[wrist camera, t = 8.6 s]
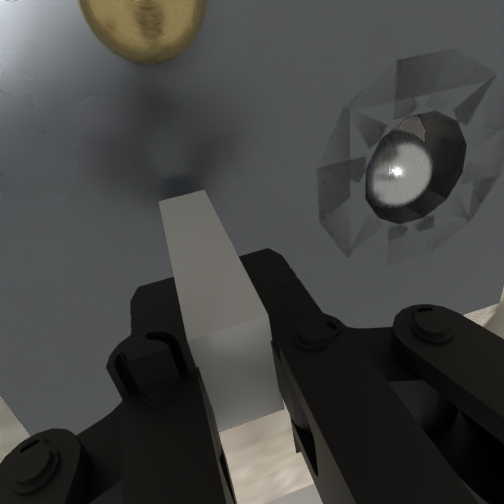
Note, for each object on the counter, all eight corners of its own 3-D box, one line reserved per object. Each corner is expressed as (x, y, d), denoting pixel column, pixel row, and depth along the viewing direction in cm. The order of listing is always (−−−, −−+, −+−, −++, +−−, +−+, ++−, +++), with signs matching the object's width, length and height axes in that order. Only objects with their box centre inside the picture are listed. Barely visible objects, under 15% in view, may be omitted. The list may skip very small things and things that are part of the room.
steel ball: (362, 147, 14) (452, 136, 14) (344, 127, 17) (419, 117, 17) (360, 225, 16) (441, 216, 15) (344, 195, 18) (412, 187, 18)
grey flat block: (60, 420, 20) (53, 465, 18) (-268, -83, 9) (-382, -117, 7) (463, 291, 24) (495, 316, 22) (548, -166, 13) (627, -203, 11)
